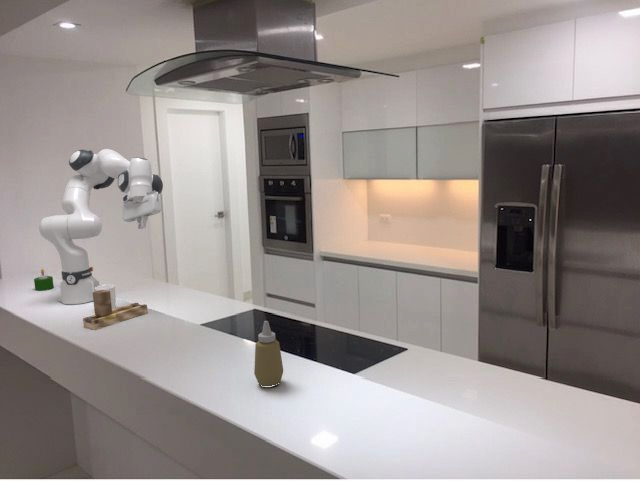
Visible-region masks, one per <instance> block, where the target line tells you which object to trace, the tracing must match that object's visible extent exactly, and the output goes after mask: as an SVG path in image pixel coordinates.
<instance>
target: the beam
mask: <svg viewBox="0 0 640 481" xmlns="http://www.w3.org/2000/svg"><path fill="white" fill-rule="evenodd" d="M148 312H149V310H148V305H147V304H145V303H144V304H139V302H133V303H130V304H126V305H123V306H120V307H116V309H112V314H109V315H107V316H104V317H101V318H98V316H97V315H95V314H93V315H89V316H86V317H83V318H82V322H83V328H85V329H89V330H94V331H95V330H100V329H102V328H106V327H108V326H112V325H114V324H117V323H118V324H119V323H120V322H121V323H122V322H123V321H126V320H127V321H128V320H131V319H133V318H136V317H140V316H142V315H145V314H148Z"/></svg>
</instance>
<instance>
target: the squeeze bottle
mask: <svg viewBox="0 0 640 481" xmlns="http://www.w3.org/2000/svg"><path fill="white" fill-rule="evenodd" d="M269 322H270V321H269V320H264V321H263V326H262V332H260V333H259V334H258V335H257V336H258V337H257V338H258V341H257V342H256V343H255V347H254V348H255V350H254V368H253V369H254V372H253V373H254V376H255V379H256V381H257V383H259V384H260V385H262V386H272V385H276V384H278V383H280V384H281V381H282V377H283V374H284V367H283V366H284V365H283V358H282V353H281V346H280V342H279V341H278V340H277V339H276V333H275V332H274V331H272V330H271V327H270V323H269ZM259 384H258V385H259ZM260 385H259V386H260Z"/></svg>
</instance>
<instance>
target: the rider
mask: <svg viewBox="0 0 640 481" xmlns="http://www.w3.org/2000/svg"><path fill="white" fill-rule="evenodd" d="M93 308H94V309H93V310H94V315H97V316H98V318H101V317H104V316H107V315H109V314H112V305H111V296H110V291H108V290H99V291H95V292H93Z"/></svg>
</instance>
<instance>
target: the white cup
mask: <svg viewBox="0 0 640 481" xmlns="http://www.w3.org/2000/svg"><path fill="white" fill-rule="evenodd" d="M99 290H108V291H110V296H111V305H112V309H116V308H117V307H116V306H117V304H116V301H117V300H116V296H117V294H116V285H115V284H102V285H100V286H97V287H95V291H99Z"/></svg>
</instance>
